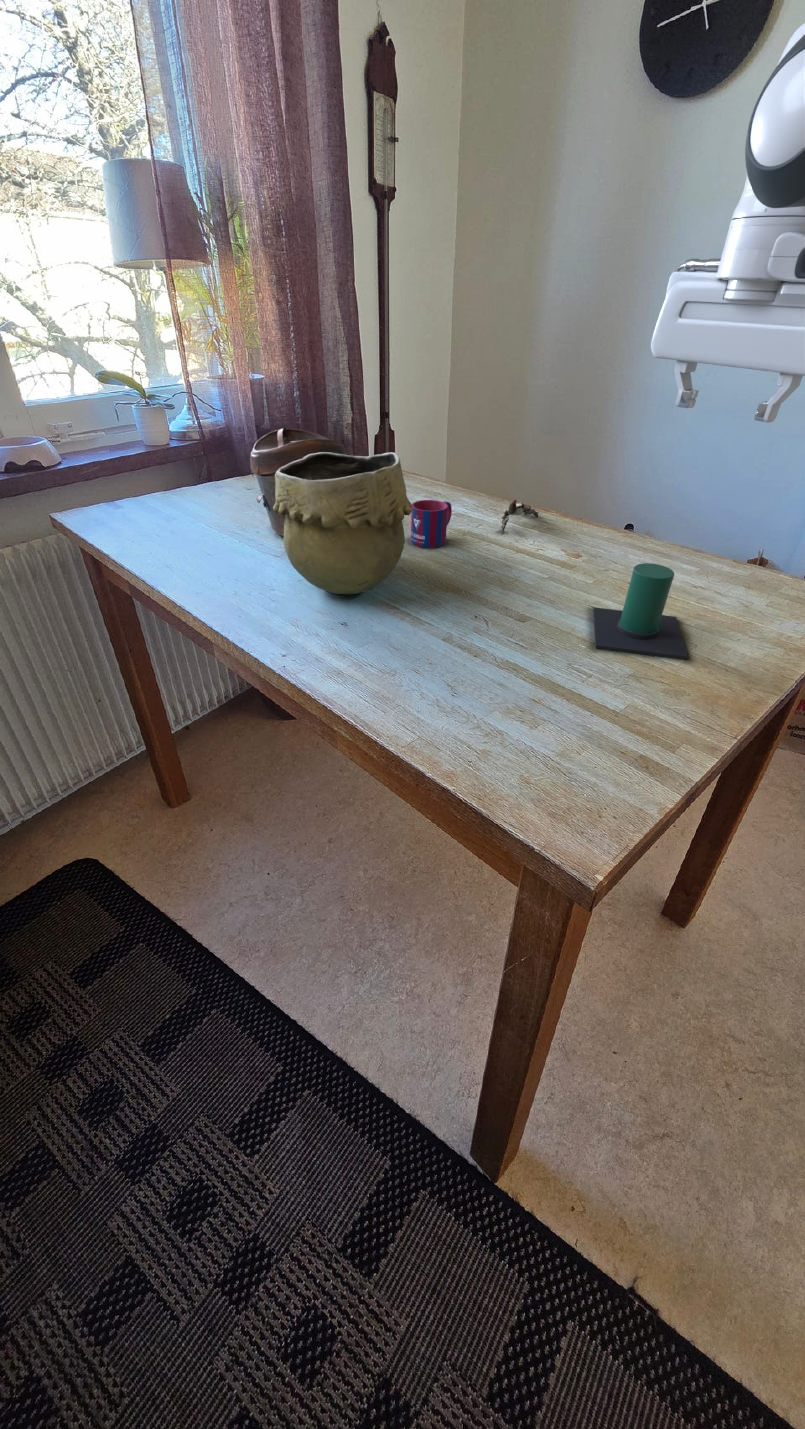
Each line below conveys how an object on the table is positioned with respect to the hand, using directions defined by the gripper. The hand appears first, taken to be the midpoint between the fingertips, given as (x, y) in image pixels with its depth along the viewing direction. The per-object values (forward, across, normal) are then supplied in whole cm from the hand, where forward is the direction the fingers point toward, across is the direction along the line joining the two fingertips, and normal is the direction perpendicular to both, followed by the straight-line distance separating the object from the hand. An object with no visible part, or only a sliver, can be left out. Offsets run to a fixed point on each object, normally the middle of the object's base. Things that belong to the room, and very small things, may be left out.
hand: (722, 414), depth 67 cm
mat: (+29, -3, 0) cm, 29 cm away
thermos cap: (+29, -3, 0) cm, 29 cm away
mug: (+29, -48, 0) cm, 56 cm away
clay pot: (+29, -40, -26) cm, 56 cm away
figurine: (+29, -45, +20) cm, 57 cm away
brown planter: (+29, -68, -17) cm, 76 cm away
